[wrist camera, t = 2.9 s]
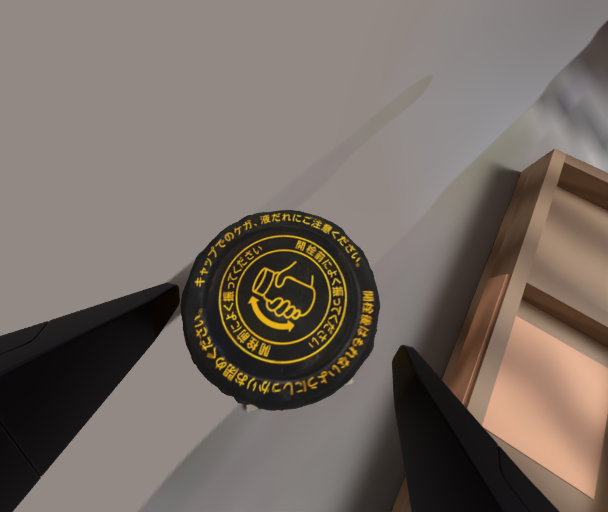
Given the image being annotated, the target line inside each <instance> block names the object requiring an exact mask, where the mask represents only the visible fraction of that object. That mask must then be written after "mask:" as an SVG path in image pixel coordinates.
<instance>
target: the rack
mask: <svg viewBox="0 0 608 512" xmlns="http://www.w3.org/2000/svg"><path fill="white" fill-rule="evenodd" d="M442 381H443V382H444V383H445V384H446V385H447V387H448V388H449V389H450V390H451V391H452V392H453V393H454V395H455V396H456V397H457V398H458V399H459V400H460V401H461V403H462V404H463V405H464V406H465V407H466V408H467V409H468V410H469V412H470V413H471V414H472V415H473V416H474V417H475V418H476V420H477V421H478V422H479V423H480V424H481V425H482V426H483V428H484V429H485V430H486V431H487V432H488V433H489V434H490V436H491V437H492V438H493V439H494V440H495V441H496V442H497V444H498V446H500V447H501V448H502V449H503V450H504V451H505V452H506V454H507V455H508V456H509V457H510V458H511V459H512V460H513V462H514V463H515V464H516V465H517V466H518V467H519V468H520V469H521V470H522V472H523V473H524V474H525V475H526V476H527V477H528V478H529V479H530V480H531V482H532V483H533V484H534V485H535V486H536V487H537V488H538V489H539V490H540V491H541V492H542V493H543V494H544V495H545V496H546V497H547V499H548V500H549V501H550V502H551V503H552V504H553V505H554V506H555V507H556V508H557V509H558V510H559V511H560V512H608V173H606V172H604V171H602V170H600V169H598V168H596V167H593V166H591V165H589V164H587V163H585V162H583V161H581V160H578V159H576V158H574V157H572V156H570V155H568V154H566V153H563V152H561V151H559V150H557V149H553V150H552V151H551V152H549V153H548V154H546V155H545V156H543V157H542V158H541V159H539V160H538V161H536V162H535V163H533V164H532V165H531V166H529V167H528V168H526V169H525V170H523V171H522V172H521V174H520V177H519V179H518V182H517V185H516V187H515V190H514V192H513V195H512V198H511V200H510V203H509V206H508V208H507V211H506V213H505V216H504V219H503V221H502V224H501V226H500V229H499V232H498V234H497V237H496V240H495V242H494V245H493V247H492V250H491V253H490V255H489V258H488V260H487V263H486V266H485V268H484V271H483V273H482V276H481V279H480V281H479V284H478V287H477V289H476V292H475V294H474V297H473V300H472V302H471V305H470V307H469V310H468V313H467V315H466V318H465V321H464V323H463V326H462V328H461V331H460V334H459V336H458V339H457V341H456V344H455V347H454V349H453V352H452V355H451V357H450V360H449V362H448V365H447V368H446V370H445V373H444V375H443V378H442ZM391 512H411V506H410V500H409V494H408V488H407V481H406V475H405V477H404V480H403V483H402V485H401V488H400V490H399V493H398V496H397V498H396V501H395V504H394V506H393V509H392V511H391Z"/></svg>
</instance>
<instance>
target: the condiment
mask: <svg viewBox="0 0 608 512" xmlns="http://www.w3.org/2000/svg"><path fill="white" fill-rule="evenodd" d="M379 310H380V301H379V295H378V290H377V286H376V283H375V280H374V275H373V272H372V270H371V268H370V266H369V263H368V260H367V258H366V257H365V255H364V252H363V251H362V250H361V249H360V248H359V247H358V246H357V245H356V244H355V243H353V241H352V240H351V239H350V238H349V237H348V236H347V235H346V234H345V232H344V231H343V229H342V228H340V227H339V226H337V225H336V224H334V223H333V222H330V221H328V220H326V219H324V218H322V217H319V216H316V215H312V214H308V213H304V212H301V211H294V210H280V211H273V212H262V213H256V214H253V215H248V216H246V217H244V218H242V219H241V220H239V221H238V222H236V223H234V224H232V225H230V226H228V227H227V228H225V229H224V230H223V231H221V232H220V233H219V234H218V235H217V236H216V237H215V238H214V239H213V240H212V241H211V242H210V243H209V244H208V246H207V247H206V248H205V249H204V250H203V251H202V252H201V253H199V254H198V256H197V257H196V260H195V262H194V265H193V267H192V270H191V272H190V275H189V278H188V281H187V283H186V286H185V288H184V291H183V294H182V299H181V316H182V321H183V331H184V337H185V341H186V345H187V347H188V350H189V352H190V354H191V358H192V360H193V362H194V364H196V366H197V368H198V369H199V370H200V372H201V373H202V374H203V375H204V377H205V378H207V380H208V381H210V382H211V383H212V384H213V385H215V386H217V387H218V388H219V390H220V391H221V392H222V393H224V394H226V395H229V396H233V397H234V398H235V400H236V401H237V402H238V403H242V404H244V405H246V407H247V412H251V411H254V410H258V409H266V410H273V411H275V410H281V411H282V410H286V409H296V408H299V407H303V406H306V405H309V404H313V403H316V402H318V401H320V400H322V399H324V398H327V397H329V396H331V395H333V394H334V393H335V392H336V391H337V390H338V389H340V388H341V387H342V386H344V385H347V384H351V383H354V382H353V376H354V375H355V373H356V372H357V370H358V369H359V368H360V366H361V365H362V364H363V362H364V361H365V360H366V359H367V357H368V356H369V355H370V353H371V352H372V349H373V347H374V338H375V334H376V332H377V329H376V328H377V322H378V315H379Z"/></svg>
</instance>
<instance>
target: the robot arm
mask: <svg viewBox="0 0 608 512" xmlns="http://www.w3.org/2000/svg"><path fill="white" fill-rule="evenodd" d="M179 302H180V298H179V287H178V285H176V284H172V283H164V284H161V285H158V286H155V287H152V288H148V289H145V290H142V291H139V292H136V293H133V294H130V295H127V296H124V297H121V298H118V299H114V300H111V301H108V302H105V303H102V304H99V305H96V306H93V307H90V308H87V309H84V310H80V311H77V312H74V313H71V314H68V315H65V316H62V317H59V318H56V319H53V320H50V321H49V322H48V321H47V322H43V323H40V324H37V325H34V326H31V327H28V328H24V329H21V330H18V331H15V332H12V333H8V334H5V335H2V336H0V512H13V511H14V509H15V508H16V507H17V506H18V505H19V503H20V502H21V501H22V500H23V499H24V497H25V496H26V495H27V494H28V493H29V491H30V490H31V489H32V488H33V487H34V485H35V484H36V483H37V482H38V481H39V479H40V476H42V475H43V474H44V473H45V472H46V471H47V470H48V468H49V467H50V466H51V465H52V464H53V462H54V461H55V460H56V459H57V457H58V456H59V455H60V454H61V453H62V452H63V450H64V449H65V448H66V447H67V446H68V444H69V443H70V442H71V441H72V439H73V438H74V437H75V436H76V435H77V433H78V432H79V431H80V430H81V429H82V427H83V426H84V425H85V424H86V423H87V421H88V420H89V419H90V418H91V417H92V415H93V414H94V413H95V412H96V411H97V409H98V408H99V407H100V406H101V405H102V403H103V402H104V401H105V400H106V399H107V397H108V396H109V395H110V394H111V393H112V391H113V390H114V389H115V387H117V385H118V384H119V383H120V382H121V381H122V379H123V378H124V377H125V376H126V374H127V373H128V372H129V371H130V370H131V368H132V367H133V366H134V365H135V364H136V362H137V361H138V360H139V359H140V358H141V357H142V355H143V354H144V353H145V352H146V350H147V349H148V348H149V347H150V346H151V345H152V343H153V342H154V341H155V339H156V338H157V337H158V335H159V334H160V332H161V331H162V329H163V328H164V326H165V325H166V324H167V322H168V321H169V319H170V318H171V316H172V315H173V313H174V312H175V310H176V309H177V307H178V305H179ZM392 373H393V391H394V405H395V413H396V419H397V425H398V431H399V438H400V444H401V450H402V456H403V463H404V469H405V475H406V481H407V488H408V494H409V500H410V506H411V512H560V511H559V510H558V509H557V508H556V507H555V506H554V505H553V504H552V503H551V502H550V501H549V500H548V499H547V497H546V496H545V495H544V494H543V493H542V492H541V491H540V490H539V489H538V488H537V487H536V486H535V485H534V484H533V483H532V482H531V480H530V479H529V478H528V477H527V476H526V475H525V474H524V473H523V472H522V470H521V469H520V468H519V467H518V466H517V465H516V464H515V463H514V462H513V460H512V459H511V458H510V457H509V456H508V455H507V454H506V452H505V451H504V450H503V449H502V448H501V447H500V446H498V444H497V442H496V441H495V440H494V439H493V438H492V437H491V436H490V434H489V433H488V432H487V431H486V430H485V429H484V428H483V426H482V425H481V424H480V423H479V422H478V421H477V420H476V418H475V417H474V416H473V415H472V414H471V413H470V412H469V410H468V409H467V408H466V407H465V406H464V405H463V404H462V403H461V401H460V400H459V399H458V398H457V397H456V396H455V395H454V393H453V392H452V391H451V390H450V389H449V388H448V387H447V385H446V384H445V383H444V382H443V381H442V380H441V379H440V377H439V376H438V375H437V374H436V373H435V372H434V371H433V370H432V368H431V367H430V366H429V365H428V364H427V363H426V362H425V360H424V359H423V358H422V357H421V356H420V355H419V354H418V352H417V351H416V350H415V349H414V348H413V347H410V346H406V345H401V346H400V347H399V349H398V351H397V353H396V354H395V356H394V358H393V361H392Z"/></svg>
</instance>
